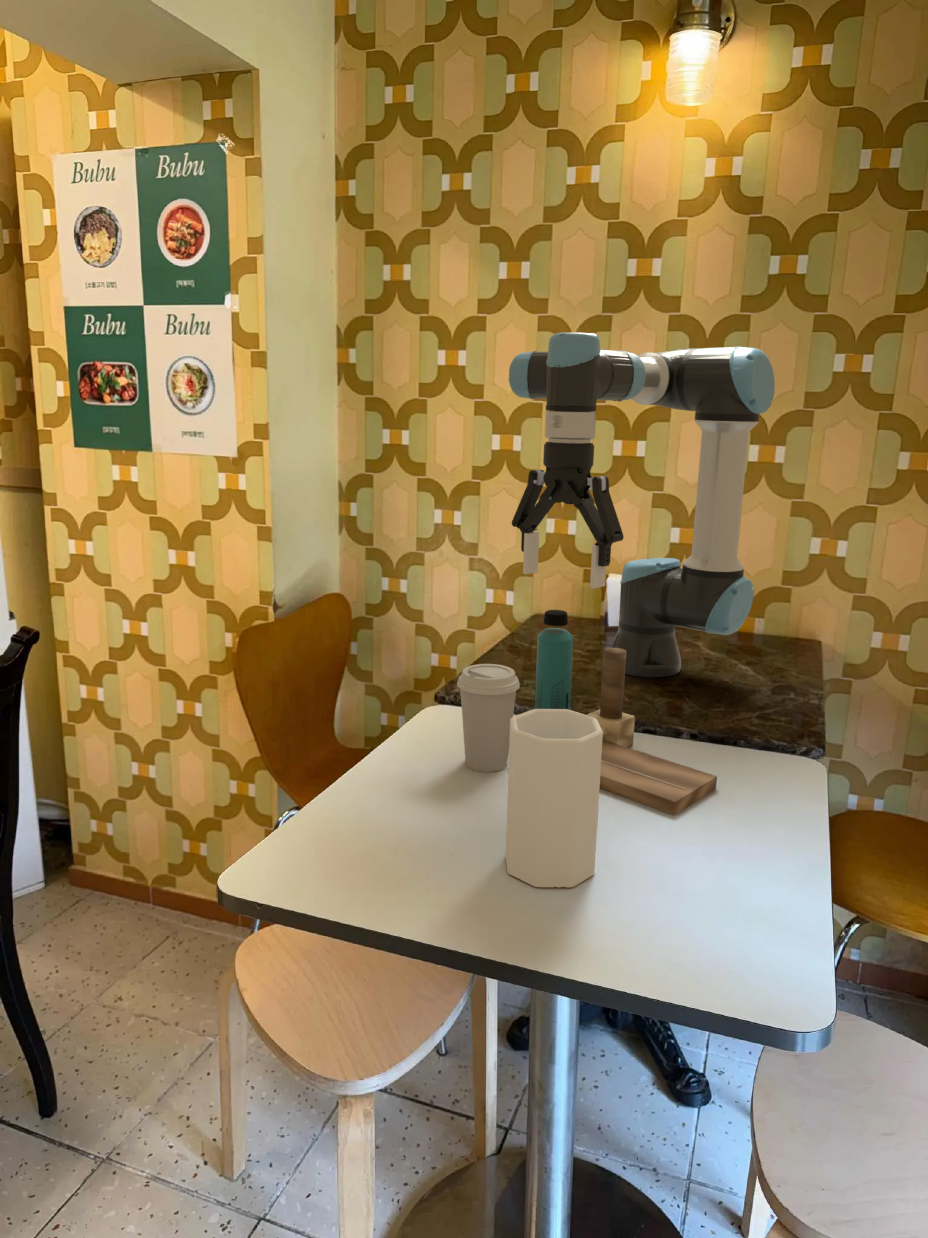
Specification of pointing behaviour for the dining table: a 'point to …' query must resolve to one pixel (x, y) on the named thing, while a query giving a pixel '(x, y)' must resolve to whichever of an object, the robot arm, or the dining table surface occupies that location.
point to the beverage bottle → (554, 664)
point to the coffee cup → (487, 714)
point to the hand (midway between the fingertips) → (562, 579)
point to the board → (652, 779)
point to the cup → (553, 797)
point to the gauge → (614, 700)
